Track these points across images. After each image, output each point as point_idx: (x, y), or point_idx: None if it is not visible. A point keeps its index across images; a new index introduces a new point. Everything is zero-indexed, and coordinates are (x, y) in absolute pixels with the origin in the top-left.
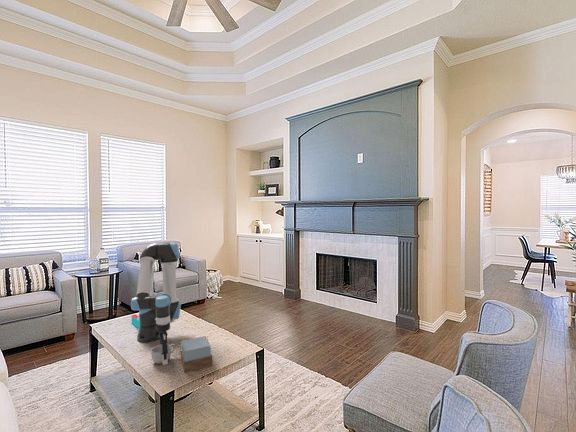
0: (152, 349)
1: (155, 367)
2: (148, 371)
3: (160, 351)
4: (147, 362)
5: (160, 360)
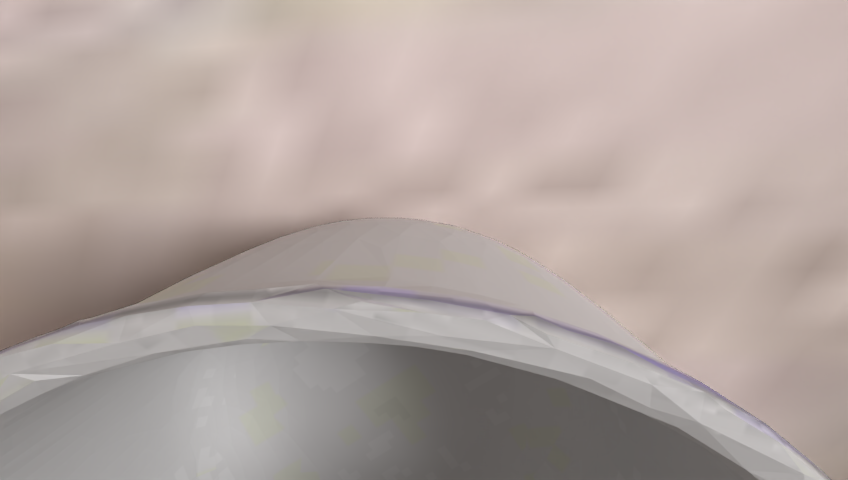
0: (550, 365)
1: (182, 267)
2: (53, 137)
3: (642, 469)
4: (469, 94)
5: (158, 426)
